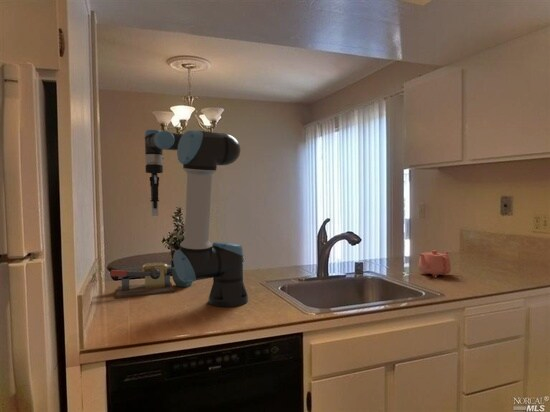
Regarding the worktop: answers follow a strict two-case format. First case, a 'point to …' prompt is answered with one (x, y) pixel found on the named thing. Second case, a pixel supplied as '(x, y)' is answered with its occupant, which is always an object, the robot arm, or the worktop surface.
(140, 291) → the mount board
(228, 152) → the robot arm
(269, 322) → the worktop surface
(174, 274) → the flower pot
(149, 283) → the valve
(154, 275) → the lever
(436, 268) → the teapot
